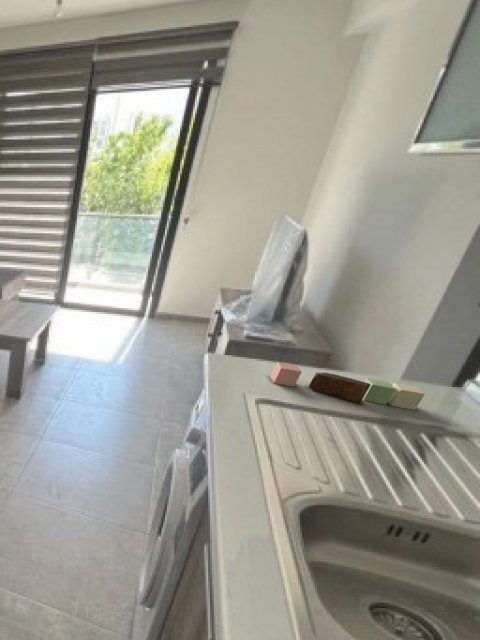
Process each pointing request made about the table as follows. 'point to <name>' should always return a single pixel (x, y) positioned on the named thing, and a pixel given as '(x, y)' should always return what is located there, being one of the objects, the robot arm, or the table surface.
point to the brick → (339, 386)
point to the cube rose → (285, 374)
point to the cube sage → (378, 391)
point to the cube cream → (405, 396)
